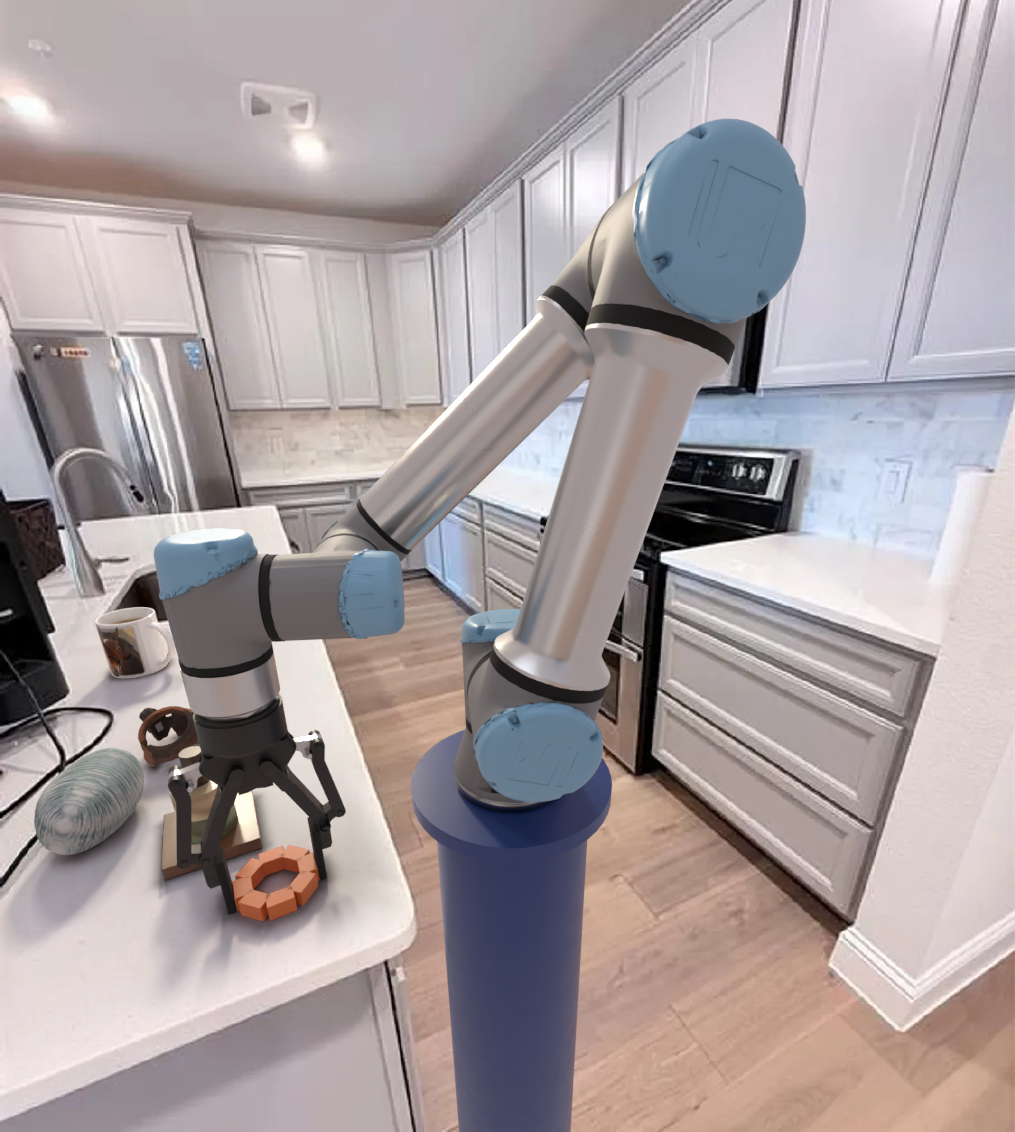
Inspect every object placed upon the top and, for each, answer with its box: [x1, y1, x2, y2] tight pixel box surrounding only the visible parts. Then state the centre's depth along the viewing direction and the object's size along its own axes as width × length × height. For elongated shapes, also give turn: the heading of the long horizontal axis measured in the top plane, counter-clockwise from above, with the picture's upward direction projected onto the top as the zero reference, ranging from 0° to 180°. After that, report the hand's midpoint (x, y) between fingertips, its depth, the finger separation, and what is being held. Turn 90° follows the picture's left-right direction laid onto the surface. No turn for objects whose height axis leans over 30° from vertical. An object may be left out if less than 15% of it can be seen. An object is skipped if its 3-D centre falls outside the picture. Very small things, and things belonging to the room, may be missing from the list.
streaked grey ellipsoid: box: [33, 747, 145, 856], centre depth 67 cm, size 14×10×10 cm
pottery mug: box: [137, 705, 199, 768], centre depth 82 cm, size 12×10×8 cm
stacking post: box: [160, 745, 263, 881], centre depth 64 cm, size 10×10×12 cm
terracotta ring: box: [231, 844, 321, 922], centre depth 59 cm, size 8×8×2 cm
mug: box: [94, 606, 176, 679], centre depth 107 cm, size 10×12×11 cm
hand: (277, 886), depth 59 cm, fingers open, 8 cm apart
